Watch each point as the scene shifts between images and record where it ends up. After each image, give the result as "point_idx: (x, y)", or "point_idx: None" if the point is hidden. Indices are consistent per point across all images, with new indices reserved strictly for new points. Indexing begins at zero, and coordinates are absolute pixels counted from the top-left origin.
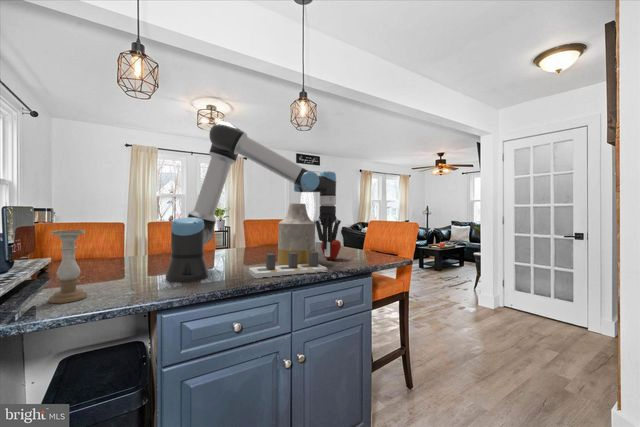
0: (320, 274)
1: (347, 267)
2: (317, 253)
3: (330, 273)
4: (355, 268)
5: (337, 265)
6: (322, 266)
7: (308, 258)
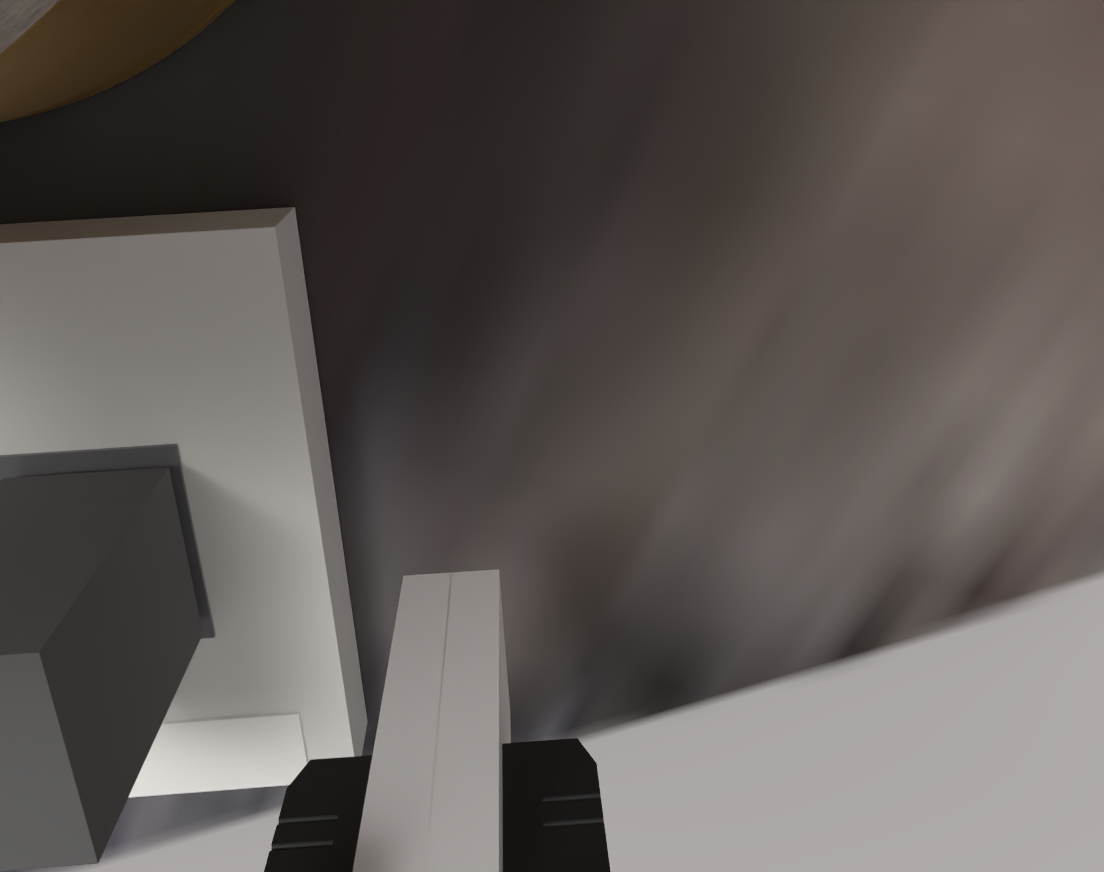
0: (200, 808)
1: (997, 408)
2: (72, 846)
3: None
4: (1086, 537)
5: (914, 127)
6: (307, 633)
7: (9, 112)
